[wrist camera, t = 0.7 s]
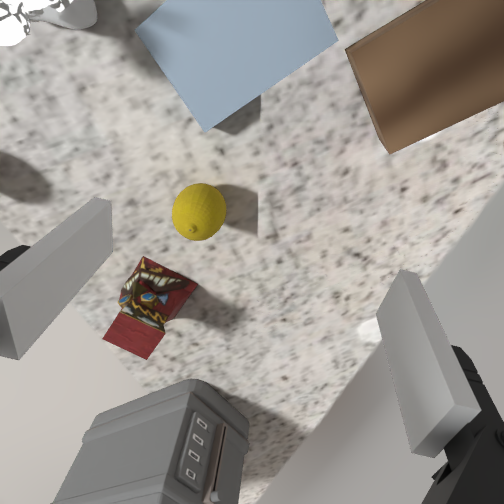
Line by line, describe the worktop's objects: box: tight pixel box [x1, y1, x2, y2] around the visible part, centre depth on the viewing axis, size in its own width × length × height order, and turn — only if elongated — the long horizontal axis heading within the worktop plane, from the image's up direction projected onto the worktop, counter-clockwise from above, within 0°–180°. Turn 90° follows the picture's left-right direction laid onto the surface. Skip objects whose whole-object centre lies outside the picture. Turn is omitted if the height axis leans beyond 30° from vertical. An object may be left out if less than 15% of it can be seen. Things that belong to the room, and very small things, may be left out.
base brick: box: [135, 0, 339, 132], centre depth 30 cm, size 10×14×3 cm
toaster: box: [51, 379, 249, 504], centre depth 59 cm, size 17×31×19 cm, turn 125°
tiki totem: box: [103, 256, 198, 360], centre depth 45 cm, size 9×9×9 cm
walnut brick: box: [345, 0, 504, 154], centre depth 29 cm, size 9×12×5 cm
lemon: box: [172, 183, 226, 241], centre depth 37 cm, size 6×6×8 cm
